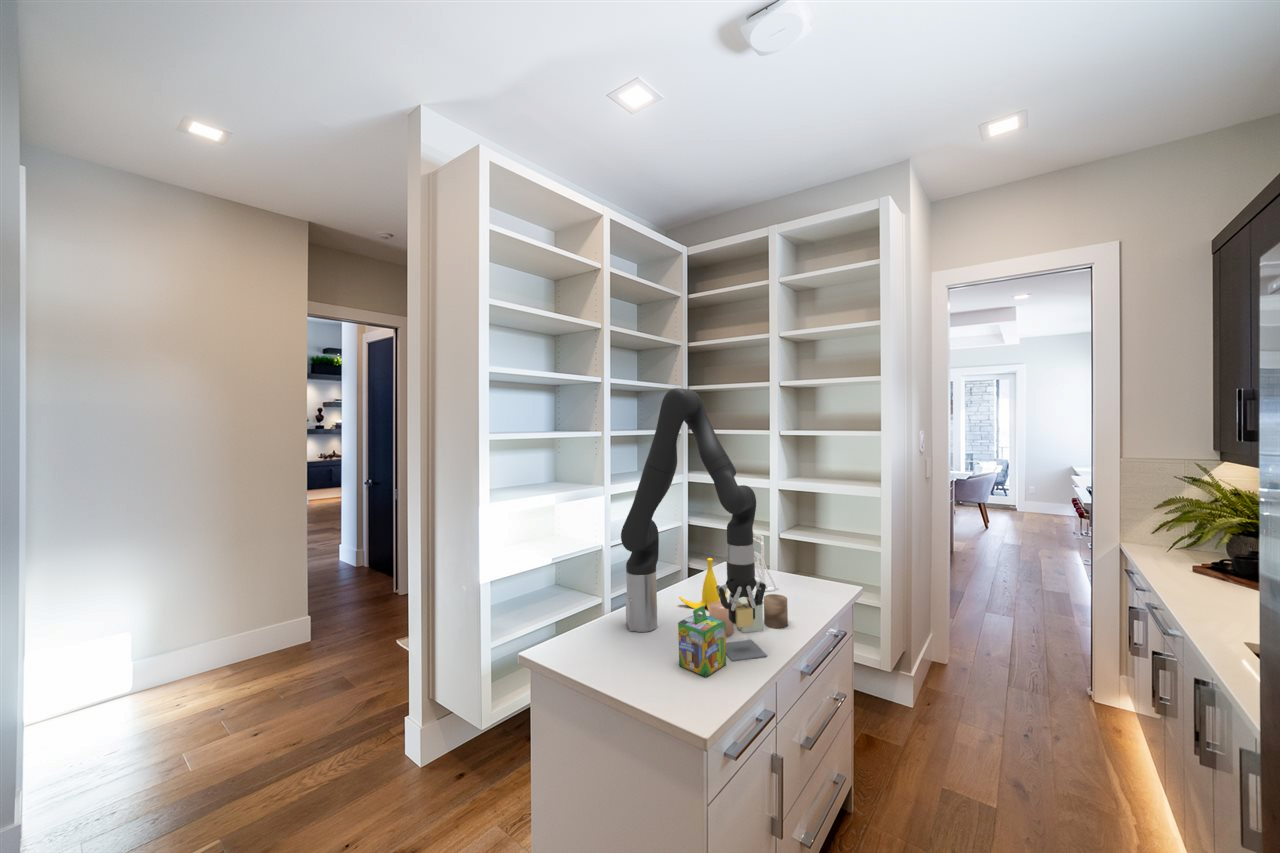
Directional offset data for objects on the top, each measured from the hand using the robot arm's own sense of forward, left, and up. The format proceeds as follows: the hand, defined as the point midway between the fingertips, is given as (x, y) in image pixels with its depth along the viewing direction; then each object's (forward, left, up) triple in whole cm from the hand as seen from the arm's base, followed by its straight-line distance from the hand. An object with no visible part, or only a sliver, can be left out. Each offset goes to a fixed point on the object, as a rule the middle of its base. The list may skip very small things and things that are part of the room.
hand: (742, 621), depth 141 cm
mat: (0, 0, -8) cm, 8 cm away
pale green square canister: (+8, +14, -8) cm, 18 cm away
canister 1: (-1, +13, -8) cm, 15 cm away
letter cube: (0, 0, -1) cm, 1 cm away
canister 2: (+17, +14, -8) cm, 23 cm away
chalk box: (-13, -5, -8) cm, 16 cm away
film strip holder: (+25, +48, -8) cm, 55 cm away
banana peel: (+3, +30, -9) cm, 31 cm away
